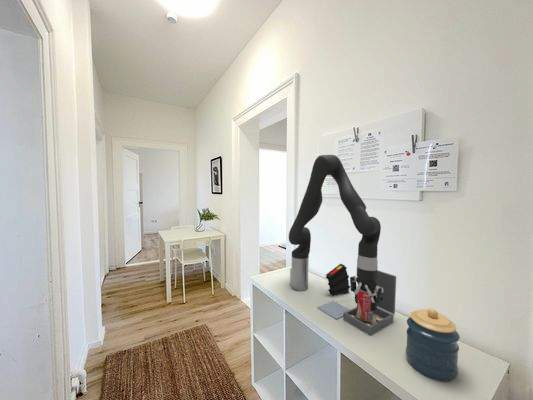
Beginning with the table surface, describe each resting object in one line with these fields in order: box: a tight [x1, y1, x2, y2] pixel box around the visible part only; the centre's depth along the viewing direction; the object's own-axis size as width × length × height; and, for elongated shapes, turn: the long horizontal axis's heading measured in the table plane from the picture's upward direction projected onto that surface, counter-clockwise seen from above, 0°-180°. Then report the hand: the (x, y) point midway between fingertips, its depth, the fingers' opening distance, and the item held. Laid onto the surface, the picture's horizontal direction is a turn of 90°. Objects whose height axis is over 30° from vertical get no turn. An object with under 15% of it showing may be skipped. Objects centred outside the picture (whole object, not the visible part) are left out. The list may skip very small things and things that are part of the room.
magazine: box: [325, 263, 351, 297], centre depth 116 cm, size 4×13×15 cm, turn 115°
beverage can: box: [356, 289, 375, 322], centre depth 91 cm, size 6×6×12 cm
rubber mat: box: [316, 300, 351, 321], centre depth 100 cm, size 11×11×1 cm
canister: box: [405, 308, 460, 382], centre depth 69 cm, size 13×13×18 cm
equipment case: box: [342, 269, 397, 337], centre depth 92 cm, size 12×17×19 cm
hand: (365, 306), depth 91 cm, fingers closed on beverage can, 6 cm apart
